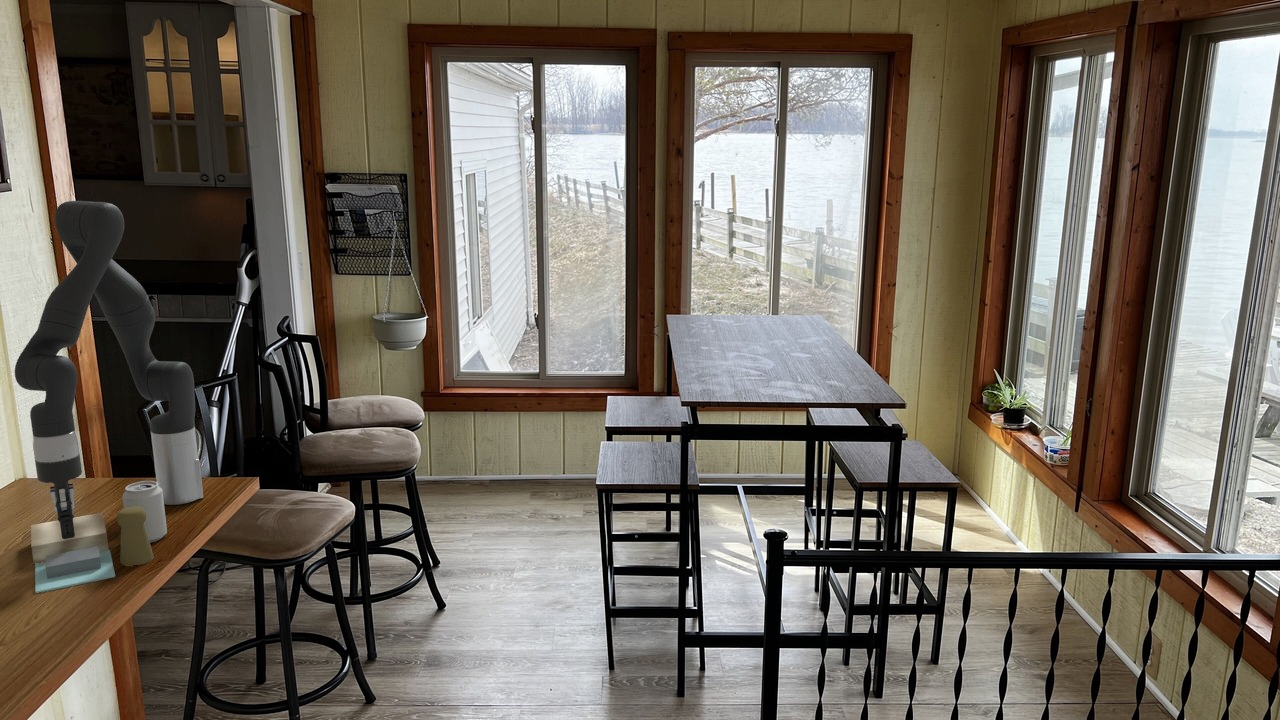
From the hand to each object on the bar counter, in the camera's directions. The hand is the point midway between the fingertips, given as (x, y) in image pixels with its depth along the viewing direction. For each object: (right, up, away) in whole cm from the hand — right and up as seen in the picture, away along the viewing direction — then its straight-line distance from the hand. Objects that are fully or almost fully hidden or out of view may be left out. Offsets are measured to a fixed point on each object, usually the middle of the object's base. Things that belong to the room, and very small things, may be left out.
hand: (68, 537), depth 186 cm
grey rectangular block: (+3, -4, -3) cm, 6 cm away
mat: (+4, -6, -4) cm, 8 cm away
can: (+10, -3, +12) cm, 16 cm away
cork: (+13, -5, +2) cm, 14 cm away
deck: (-4, -3, +8) cm, 9 cm away
